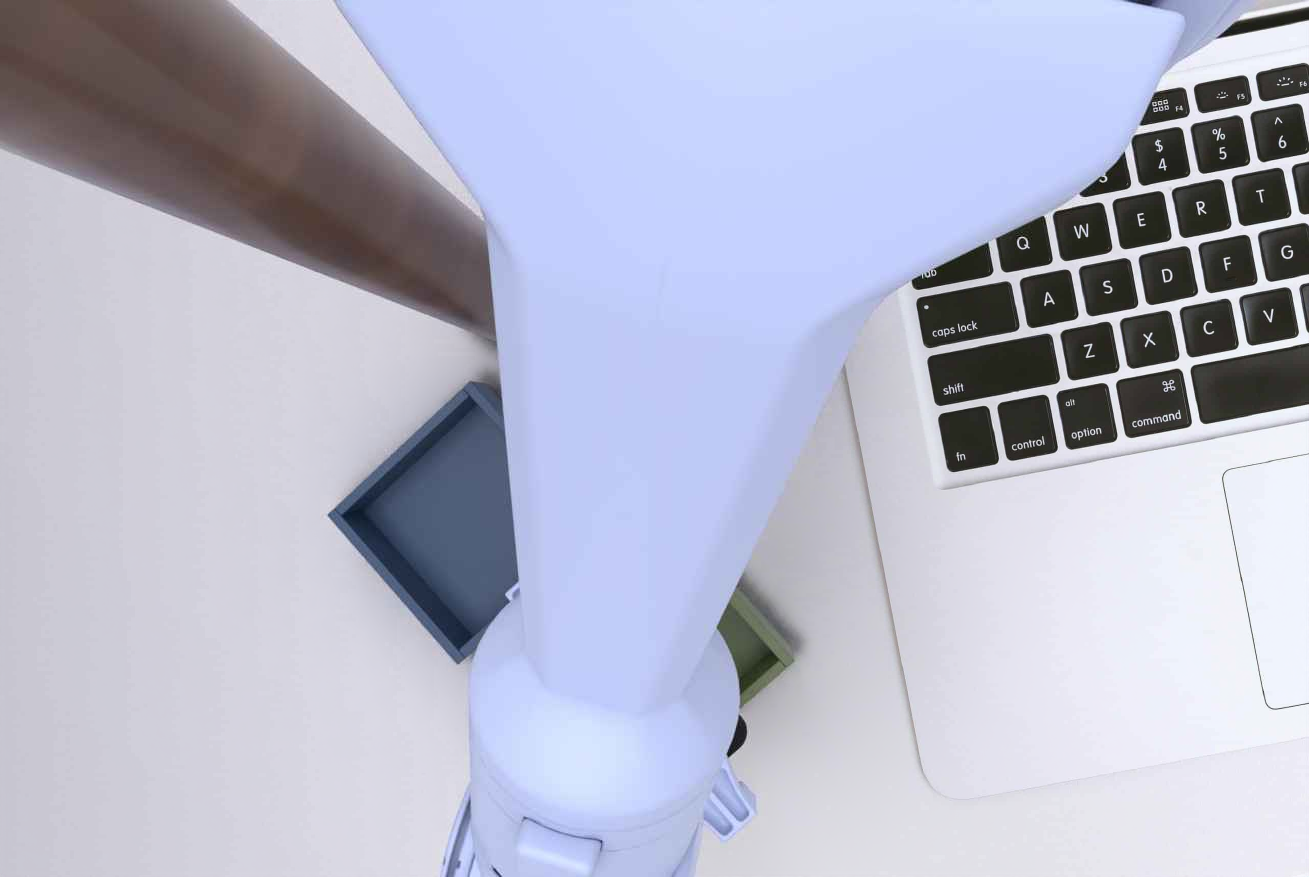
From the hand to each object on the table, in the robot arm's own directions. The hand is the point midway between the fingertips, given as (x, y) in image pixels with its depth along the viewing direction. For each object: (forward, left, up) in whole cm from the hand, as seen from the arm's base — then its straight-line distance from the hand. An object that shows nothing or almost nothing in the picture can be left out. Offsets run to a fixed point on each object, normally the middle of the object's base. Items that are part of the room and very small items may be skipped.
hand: (648, 650), depth 47 cm
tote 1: (+3, -12, -3) cm, 13 cm away
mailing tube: (-7, -20, -3) cm, 21 cm away
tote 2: (0, 0, -3) cm, 3 cm away
